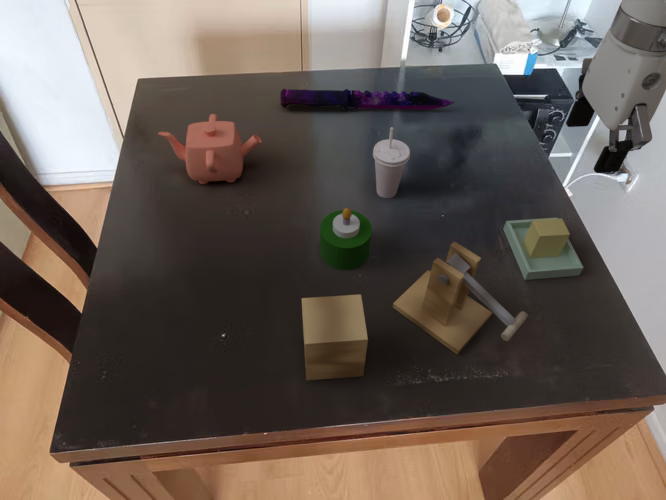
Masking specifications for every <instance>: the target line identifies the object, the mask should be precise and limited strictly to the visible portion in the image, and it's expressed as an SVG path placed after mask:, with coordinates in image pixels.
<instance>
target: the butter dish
mask: <svg viewBox="0 0 666 500" xmlns="http://www.w3.org/2000/svg"><path fill="white" fill-rule="evenodd" d="M544 219H559V218H558V217H545V218H529V219H517V220H506V221H505V223H504V225H503V228H502V230H503V232H504V235H505V237H506V239H507V243H508V244H509V247H510V248H511V251H512V254H513V256H514V258H515V260H516V263H517V265H518V268H519V270H520V272H521V274H522V277H523V279H524V281H530V280H543V279H553V278H555V279H556V278H567V277H578V276H580V275H581V273H582V271H583V270H584V265H583V264H582V262H581V260H580V258H579V256H578V254H577V252H576V250H575V249H574V247H573V245H572V243H571V240H570V239H569V238H568V239H567V241H566V243H565V245H564V247H563V249H562V251H561V253H560V254H559V256H554V257H538V258H529V255H528V253H527V251H526V248H525V246H524V244H523V241H524V239H525V236H526V234H527V232H528V230H529V227H530V225H531V223H532V220H544Z"/></svg>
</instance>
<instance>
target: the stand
mask: <svg viewBox="0 0 666 500" xmlns="http://www.w3.org/2000/svg"><path fill="white" fill-rule="evenodd" d="M364 310H365V309H364V305H363V298H362V294H359V293H358V294H345V295H330V296H315V297H302V298H301V314H302V334H303V335H302V336H303V349H304V350H303V351H304V365H305V381H318V380H320V381H321V380H331V379H345V378H357V377H364V373H365V365H366V357H367V351H368V342H369V337H368V331H367V324H366V318H365V311H364Z"/></svg>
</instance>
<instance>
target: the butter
mask: <svg viewBox="0 0 666 500" xmlns="http://www.w3.org/2000/svg"><path fill="white" fill-rule="evenodd" d="M570 235H571V233H570V231H569V229H568V227H567V224H566V223H565V221H564V219H563V218H558V219H544V220H532V223H531V225H530V227H529V230H528V232H527V234H526V236H525V239H524V241H523V244H524V246H525V248H526V251H527V253H528V255H529V258H538V257H554V256H559V254H560V253H561V251H562V249H563V247H564V245H565V243H566V241H567V239H569V238H570Z"/></svg>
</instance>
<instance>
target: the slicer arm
mask: <svg viewBox="0 0 666 500" xmlns="http://www.w3.org/2000/svg"><path fill="white" fill-rule="evenodd" d="M445 263H447V264H449V265H450V266H452V267H453V268H455V269H456V270H458V271H459V272H461V273H462V274H464V275H465V276H464V279H463V282H462V283H463V284H464V285H465V286H466V287H467V288H468V289H470V292H471V293H472V294H473V295H474V296H475V297H476V298H478V300H479V301H481V303H483V305H485V307H487V309H488V310H489V311H491V312H492V314H494V315H495V316H496V317H497V318H498V319H499V320H500V321H501V322H502V323H503V324H504V325H505V326H506V328H505V329H504V330H503V332H502V333H501V334H500V337H501V339H502V340H503V341H504V342H508V341H510V339H512V337H513V336H514V335H515V334H516V332H517V331H518V330H519V329H520V328H521V326H522V325H523V324H524V323H525V321H526V320H527V319H528V317H529V315H528V313H527V312H525V311H523V310H520V311H519V312H518V313H517V315H516V316H515V317H514V316H513V315H512V314H511V313H510V312H509V311H508V310H507V309H505V308H504V306H502V304H500V303H499V302H498V301H497V300H496V299H495V297H493V296H492V295H491V294H490V293H489V291H487V290H486V289H485V288H484V287H483V286H482V285H481V284H480V283H479V282H478V281H477V280H476V279H475V278H474V279H473V278H472V277H471V276H470V275H469V274H468V273H467V272H466V271H467V270H468V269H469V268H470V266H469V265H468V264H467V263H466V262H465V261H464V260H463V259H462V258H461V257H460V256H459V255H458V254H457V253H455V254H454V255H453V256H452V257H451V258H450V259H449V260H448V261H447V262H446V261H445Z"/></svg>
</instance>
